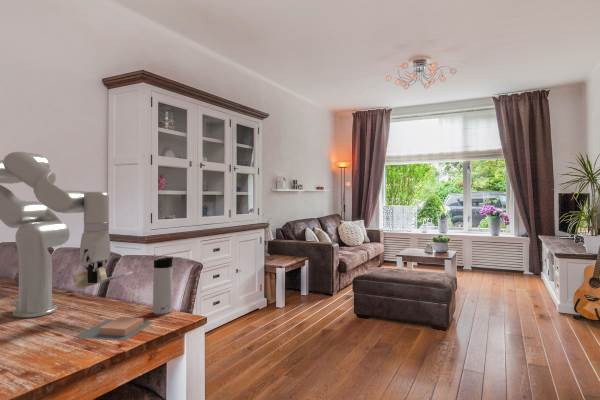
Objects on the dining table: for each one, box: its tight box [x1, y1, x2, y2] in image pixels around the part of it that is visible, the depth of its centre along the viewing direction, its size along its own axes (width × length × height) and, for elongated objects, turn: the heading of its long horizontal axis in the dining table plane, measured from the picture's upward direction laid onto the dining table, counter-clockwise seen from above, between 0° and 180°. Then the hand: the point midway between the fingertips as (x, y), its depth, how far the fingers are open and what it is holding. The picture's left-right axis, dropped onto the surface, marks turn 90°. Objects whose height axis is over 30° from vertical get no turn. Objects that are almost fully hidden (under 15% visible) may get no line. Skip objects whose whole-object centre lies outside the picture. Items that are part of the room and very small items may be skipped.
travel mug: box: [152, 256, 174, 316], centre depth 132 cm, size 6×7×20 cm
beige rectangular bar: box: [71, 266, 134, 291], centre depth 128 cm, size 19×5×5 cm, turn 83°
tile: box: [100, 316, 144, 336], centre depth 115 cm, size 2×10×8 cm
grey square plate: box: [73, 318, 154, 342], centre depth 115 cm, size 16×16×1 cm
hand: (96, 281), depth 128 cm, fingers closed on beige rectangular bar, 3 cm apart
